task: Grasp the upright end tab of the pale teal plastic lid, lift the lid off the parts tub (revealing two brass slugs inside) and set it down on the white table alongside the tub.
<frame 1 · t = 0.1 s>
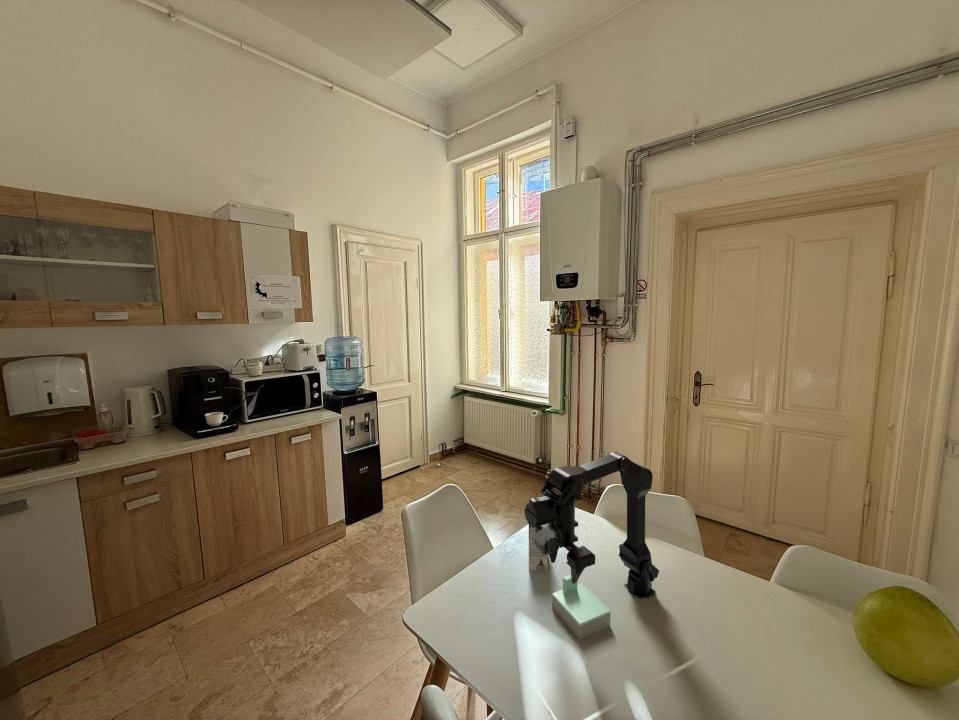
hand: (563, 572, 104), 14 cm above the table, fingers open, 9 cm apart
lid: (580, 604, 107), point 4 cm above the table, touching tub
tub: (580, 618, 107), on the table
slug a: (578, 608, 110), point 1 cm above the table, touching tub
slug b: (579, 623, 105), point 1 cm above the table, touching tub
coffee box: (539, 563, 131), on the table
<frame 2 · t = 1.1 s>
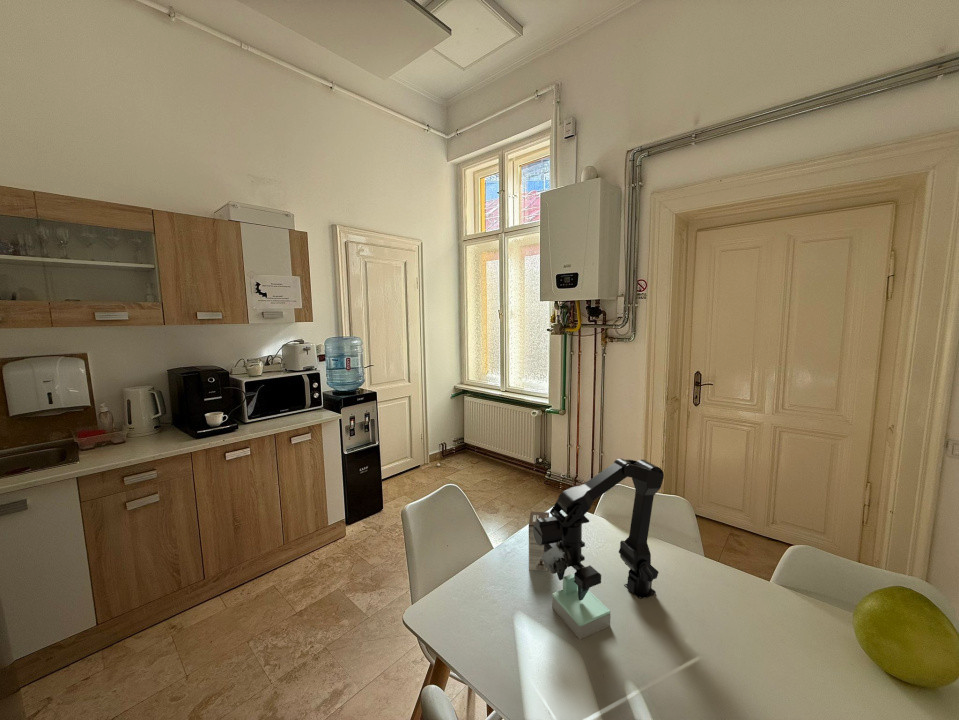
hand: (570, 589, 111), 5 cm above the table, fingers open, 9 cm apart
nothing on the table moved.
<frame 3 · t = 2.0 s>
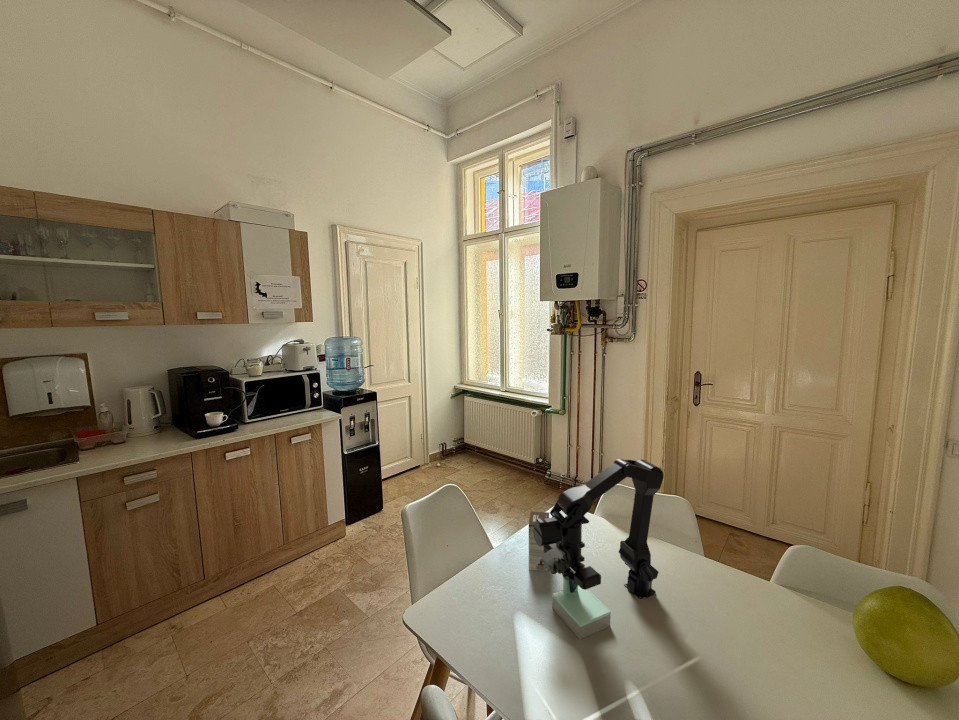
hand: (570, 590, 111), 5 cm above the table, fingers closed on lid
lid: (580, 604, 107), point 4 cm above the table, touching gripper, tub
everything else where it was.
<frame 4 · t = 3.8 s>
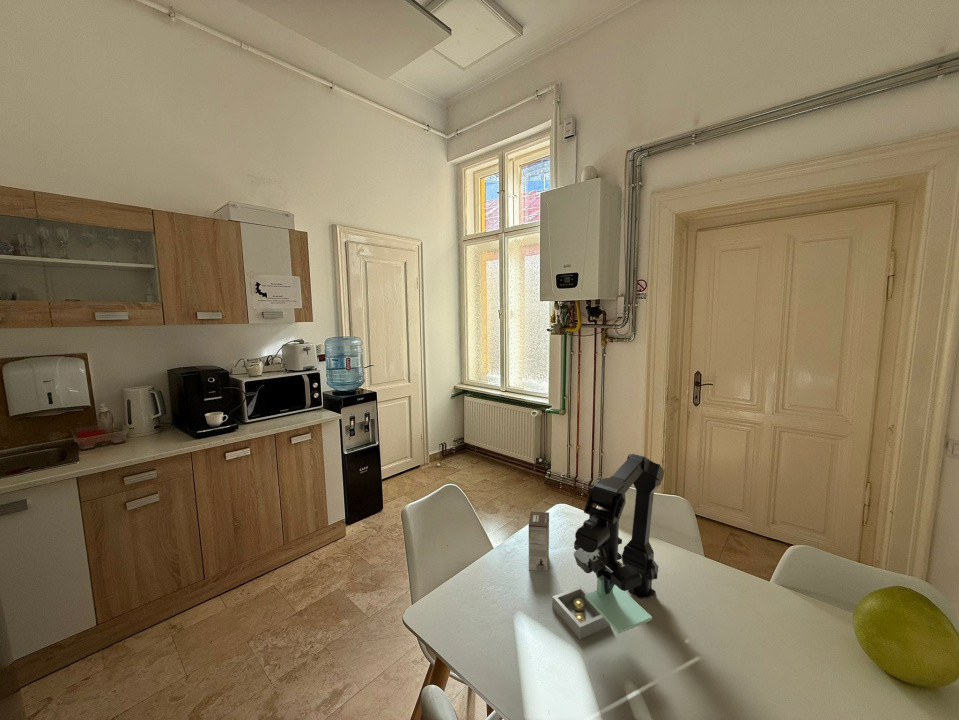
hand: (604, 591, 100), 13 cm above the table, fingers closed on lid
lid: (617, 608, 96), point 11 cm above the table, touching gripper
everything else where it was.
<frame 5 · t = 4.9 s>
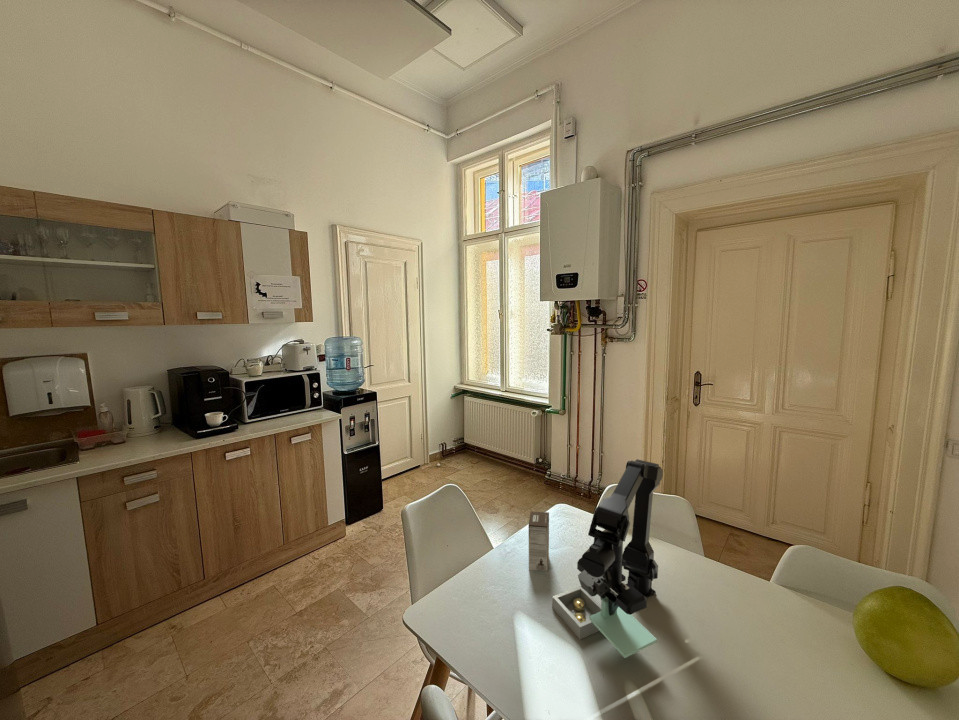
hand: (608, 612, 100), 7 cm above the table, fingers closed on lid
lid: (621, 630, 96), point 6 cm above the table, touching gripper
everything else where it was.
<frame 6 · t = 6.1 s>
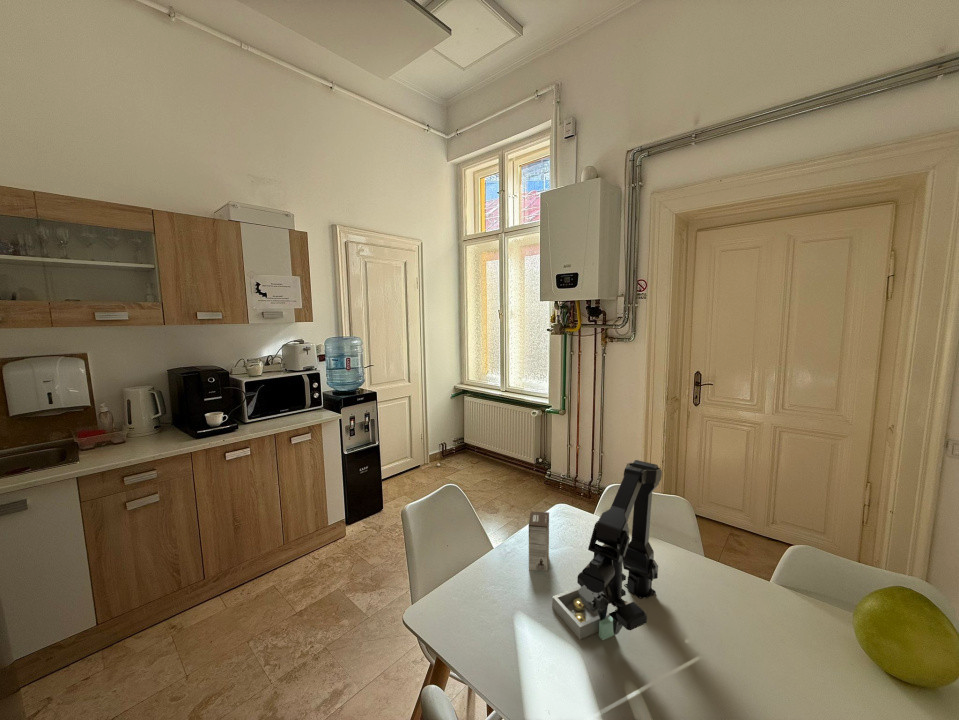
hand: (609, 627, 100), 4 cm above the table, fingers open, 4 cm apart
lid: (619, 653, 97), on the table
everything else where it was.
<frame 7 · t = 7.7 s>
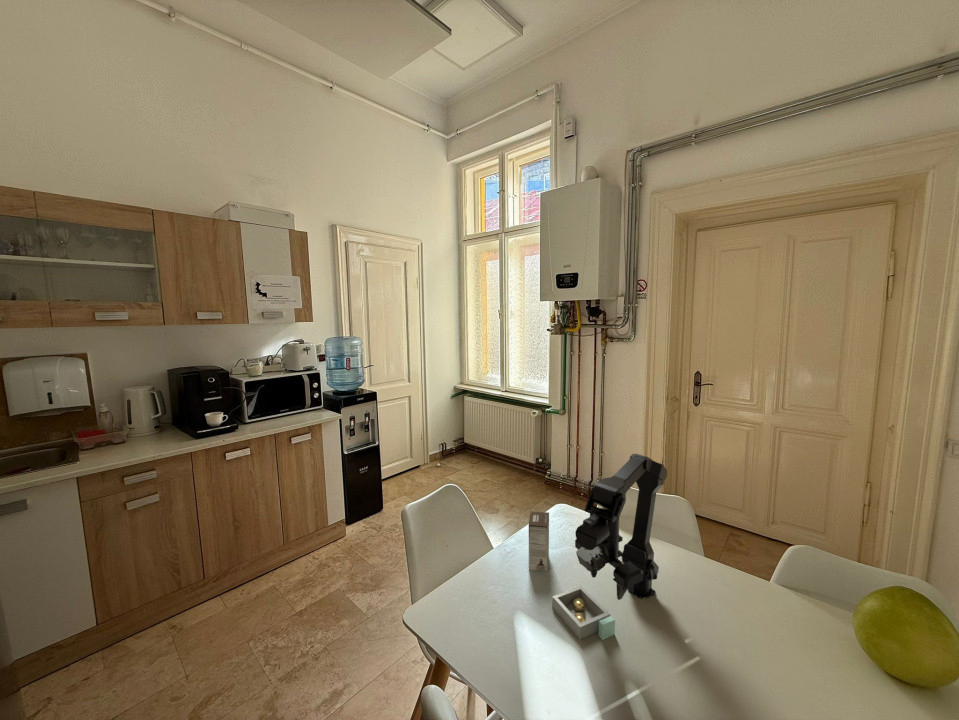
hand: (606, 587, 102), 12 cm above the table, fingers open, 9 cm apart
nothing on the table moved.
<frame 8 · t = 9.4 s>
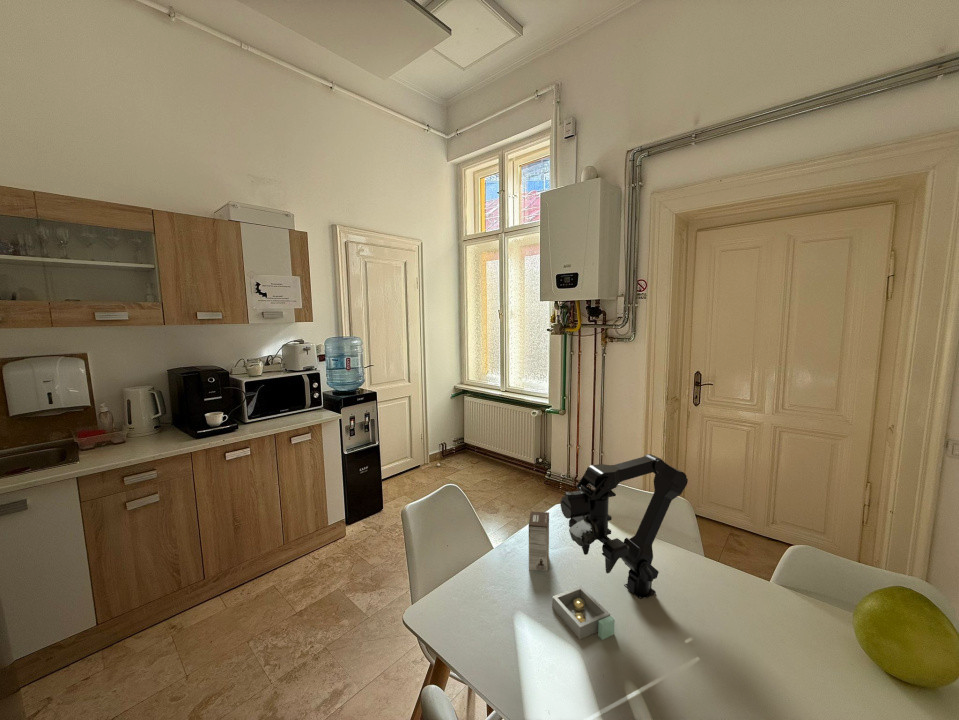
hand: (596, 563, 112), 12 cm above the table, fingers open, 9 cm apart
nothing on the table moved.
at the end: lid inside the target area (1.9 cm from its centre), on the table; lid touching table; the gripper is holding nothing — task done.
